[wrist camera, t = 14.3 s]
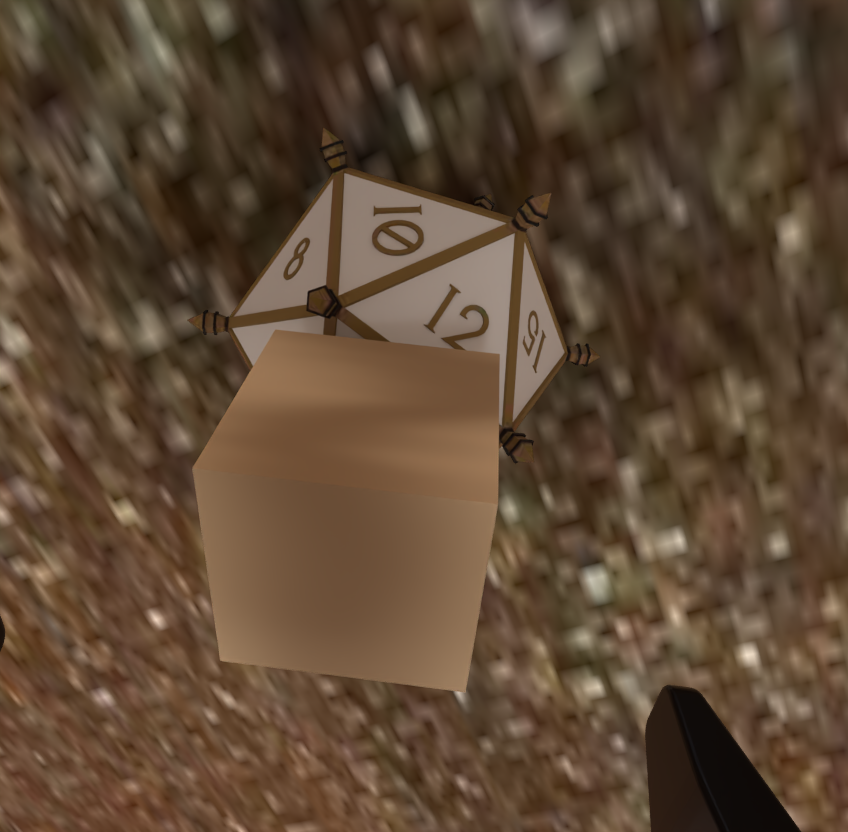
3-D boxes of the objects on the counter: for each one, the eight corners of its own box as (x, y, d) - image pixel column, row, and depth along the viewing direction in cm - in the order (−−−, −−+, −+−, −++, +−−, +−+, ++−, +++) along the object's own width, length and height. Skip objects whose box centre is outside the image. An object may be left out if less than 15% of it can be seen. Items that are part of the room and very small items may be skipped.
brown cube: (499, 353, 12) (498, 504, 9) (474, 522, 15) (465, 692, 11) (275, 329, 12) (192, 468, 9) (284, 499, 15) (220, 660, 11)
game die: (416, 286, 24) (261, 539, 21) (289, 57, 18) (32, 367, 14) (676, 319, 19) (533, 659, 16) (630, 20, 13) (370, 479, 9)
